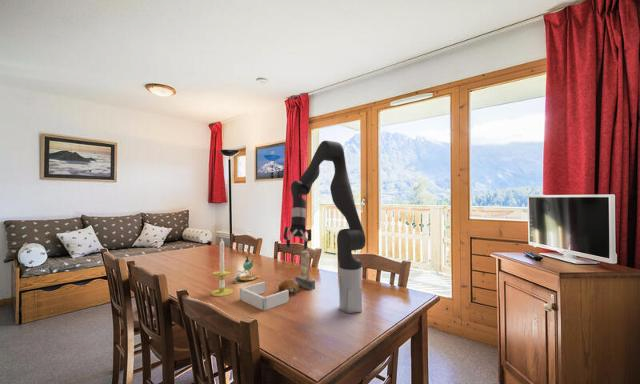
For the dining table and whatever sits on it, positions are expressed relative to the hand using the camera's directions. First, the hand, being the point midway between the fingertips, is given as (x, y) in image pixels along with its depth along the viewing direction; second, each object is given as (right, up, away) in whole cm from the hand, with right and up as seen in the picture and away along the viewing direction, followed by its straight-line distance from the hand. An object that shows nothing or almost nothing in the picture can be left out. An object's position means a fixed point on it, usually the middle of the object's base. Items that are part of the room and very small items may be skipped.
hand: (296, 248), depth 141 cm
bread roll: (-4, -20, -6) cm, 21 cm away
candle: (-36, -20, -6) cm, 42 cm away
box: (-13, -20, -16) cm, 28 cm away
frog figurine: (-30, -21, +15) cm, 39 cm away
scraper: (+4, -20, +3) cm, 21 cm away
